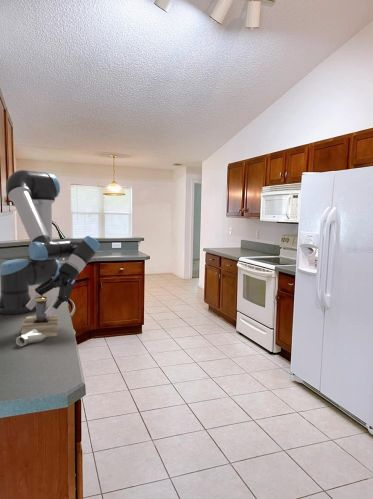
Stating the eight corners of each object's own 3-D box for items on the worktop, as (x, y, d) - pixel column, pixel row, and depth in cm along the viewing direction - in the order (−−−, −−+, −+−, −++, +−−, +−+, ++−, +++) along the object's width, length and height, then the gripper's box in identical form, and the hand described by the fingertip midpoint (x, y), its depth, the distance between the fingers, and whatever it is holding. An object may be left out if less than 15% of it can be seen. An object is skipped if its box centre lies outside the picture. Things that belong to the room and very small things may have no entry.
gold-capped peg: (36, 329, 135) (35, 296, 134) (48, 328, 137) (47, 296, 135) (34, 333, 131) (34, 299, 130) (47, 332, 132) (46, 298, 131)
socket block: (26, 326, 139) (26, 316, 138) (58, 324, 142) (58, 315, 142) (21, 338, 125) (21, 327, 125) (57, 335, 129) (56, 325, 129)
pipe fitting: (46, 341, 125) (29, 338, 126) (47, 330, 125) (30, 327, 126) (34, 349, 117) (15, 346, 118) (34, 338, 117) (16, 335, 118)
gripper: (96, 277, 137) (63, 323, 127) (60, 270, 152) (27, 310, 142) (85, 265, 132) (49, 312, 122) (49, 259, 147) (14, 300, 137)
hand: (37, 311), depth 132 cm, fingers open, 13 cm apart
